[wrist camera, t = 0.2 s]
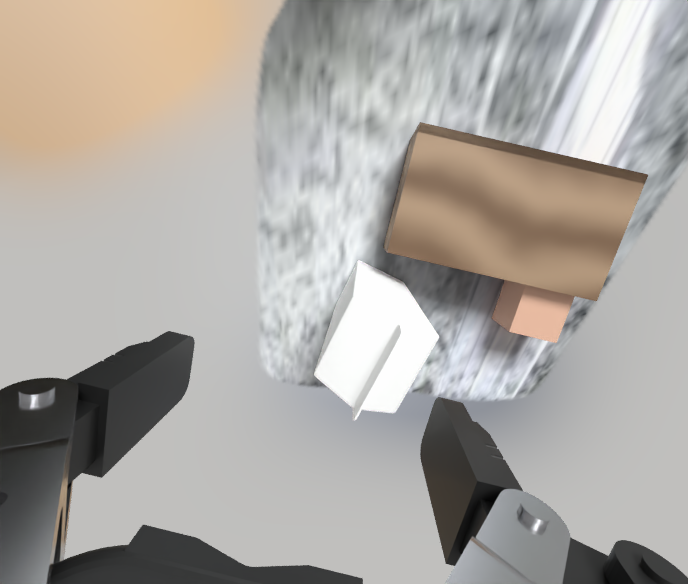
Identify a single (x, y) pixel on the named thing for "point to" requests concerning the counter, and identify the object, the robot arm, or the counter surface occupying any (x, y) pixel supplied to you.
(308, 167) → the counter surface
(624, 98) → the counter surface
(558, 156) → the wooden bench
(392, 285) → the milk
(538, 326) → the block
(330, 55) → the counter surface
